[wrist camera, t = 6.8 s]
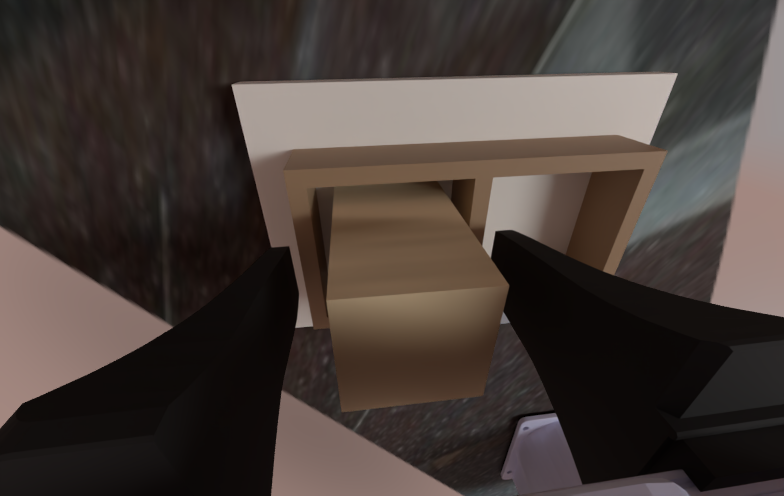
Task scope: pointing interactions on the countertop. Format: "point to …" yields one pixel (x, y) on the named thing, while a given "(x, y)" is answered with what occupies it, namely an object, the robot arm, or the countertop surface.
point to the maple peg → (409, 297)
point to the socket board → (458, 157)
